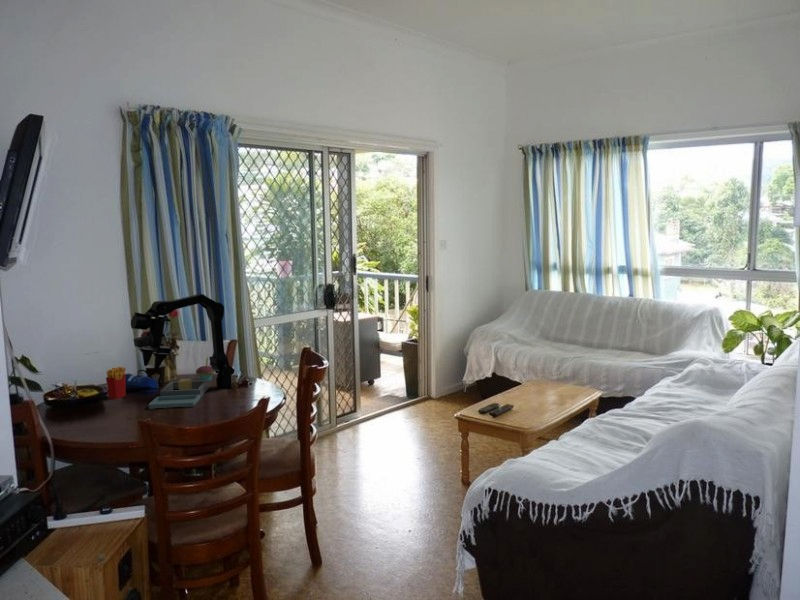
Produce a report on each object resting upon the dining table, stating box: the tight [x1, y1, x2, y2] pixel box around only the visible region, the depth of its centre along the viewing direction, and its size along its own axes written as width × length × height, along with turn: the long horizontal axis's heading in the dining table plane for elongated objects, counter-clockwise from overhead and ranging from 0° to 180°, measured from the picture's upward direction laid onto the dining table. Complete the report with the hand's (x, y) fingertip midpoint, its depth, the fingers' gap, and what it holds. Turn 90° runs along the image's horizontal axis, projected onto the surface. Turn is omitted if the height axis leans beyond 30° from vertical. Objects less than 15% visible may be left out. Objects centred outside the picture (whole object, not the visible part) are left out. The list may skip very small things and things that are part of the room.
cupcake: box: [195, 355, 215, 382], centre depth 304 cm, size 9×8×12 cm
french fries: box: [105, 366, 126, 400], centre depth 278 cm, size 9×4×13 cm, turn 155°
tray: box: [148, 395, 201, 410], centre depth 265 cm, size 18×12×2 cm, turn 95°
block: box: [177, 378, 192, 390], centre depth 282 cm, size 4×4×6 cm
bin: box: [159, 379, 210, 398], centre depth 282 cm, size 17×17×4 cm
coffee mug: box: [137, 363, 166, 388], centre depth 294 cm, size 12×9×10 cm
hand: (150, 367), depth 266 cm, fingers open, 9 cm apart
